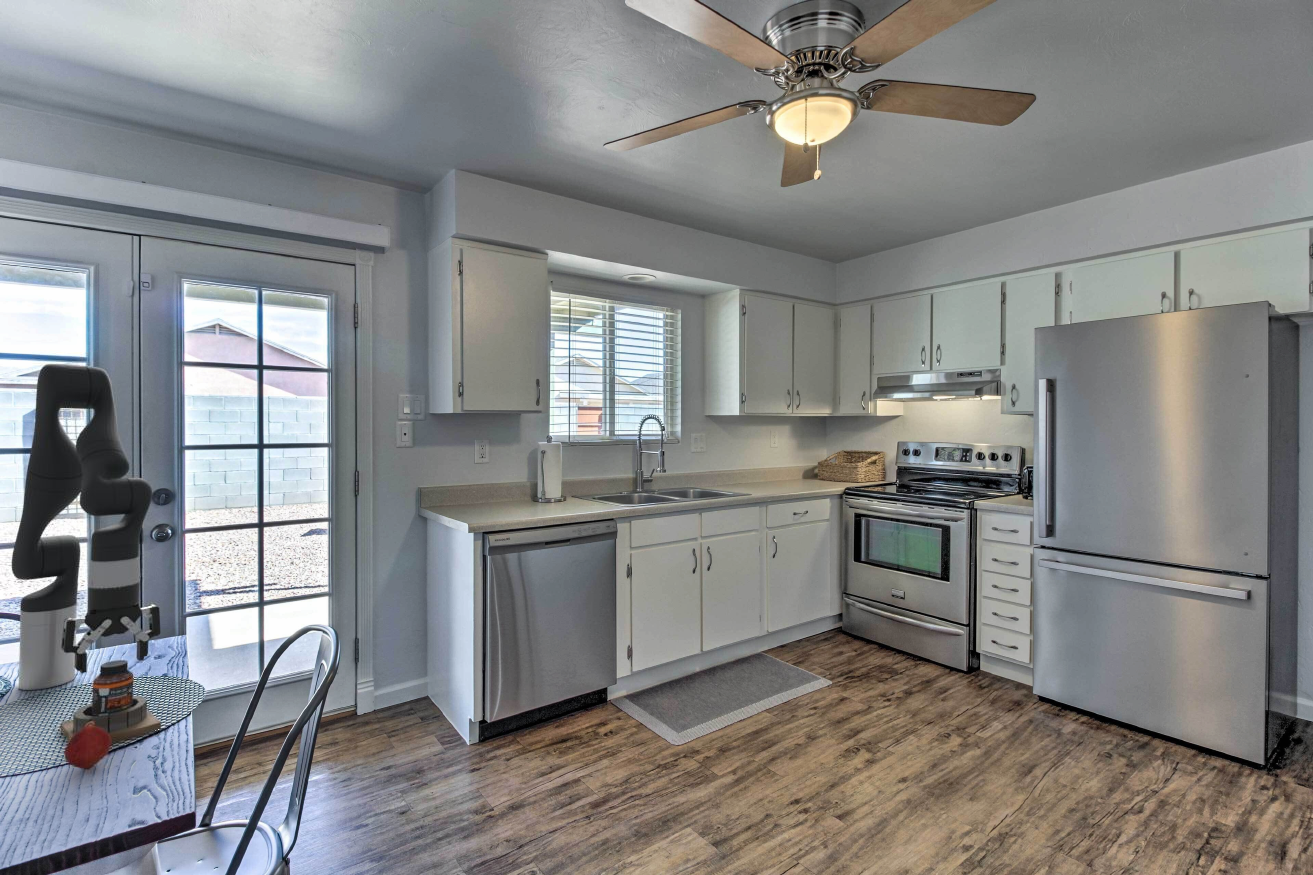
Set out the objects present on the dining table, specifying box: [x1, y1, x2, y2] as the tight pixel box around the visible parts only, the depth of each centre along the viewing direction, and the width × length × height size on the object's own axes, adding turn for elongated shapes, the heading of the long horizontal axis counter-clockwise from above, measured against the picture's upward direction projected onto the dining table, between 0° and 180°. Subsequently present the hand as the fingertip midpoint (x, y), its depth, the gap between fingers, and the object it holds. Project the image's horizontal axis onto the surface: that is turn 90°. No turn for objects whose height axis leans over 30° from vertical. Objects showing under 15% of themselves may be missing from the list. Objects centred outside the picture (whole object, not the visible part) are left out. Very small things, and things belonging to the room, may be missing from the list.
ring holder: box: [59, 695, 162, 745], centre depth 120 cm, size 14×12×4 cm
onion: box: [64, 721, 112, 770], centre depth 106 cm, size 6×6×8 cm
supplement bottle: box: [91, 659, 134, 716], centre depth 120 cm, size 6×6×11 cm
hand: (112, 665), depth 120 cm, fingers open, 8 cm apart
